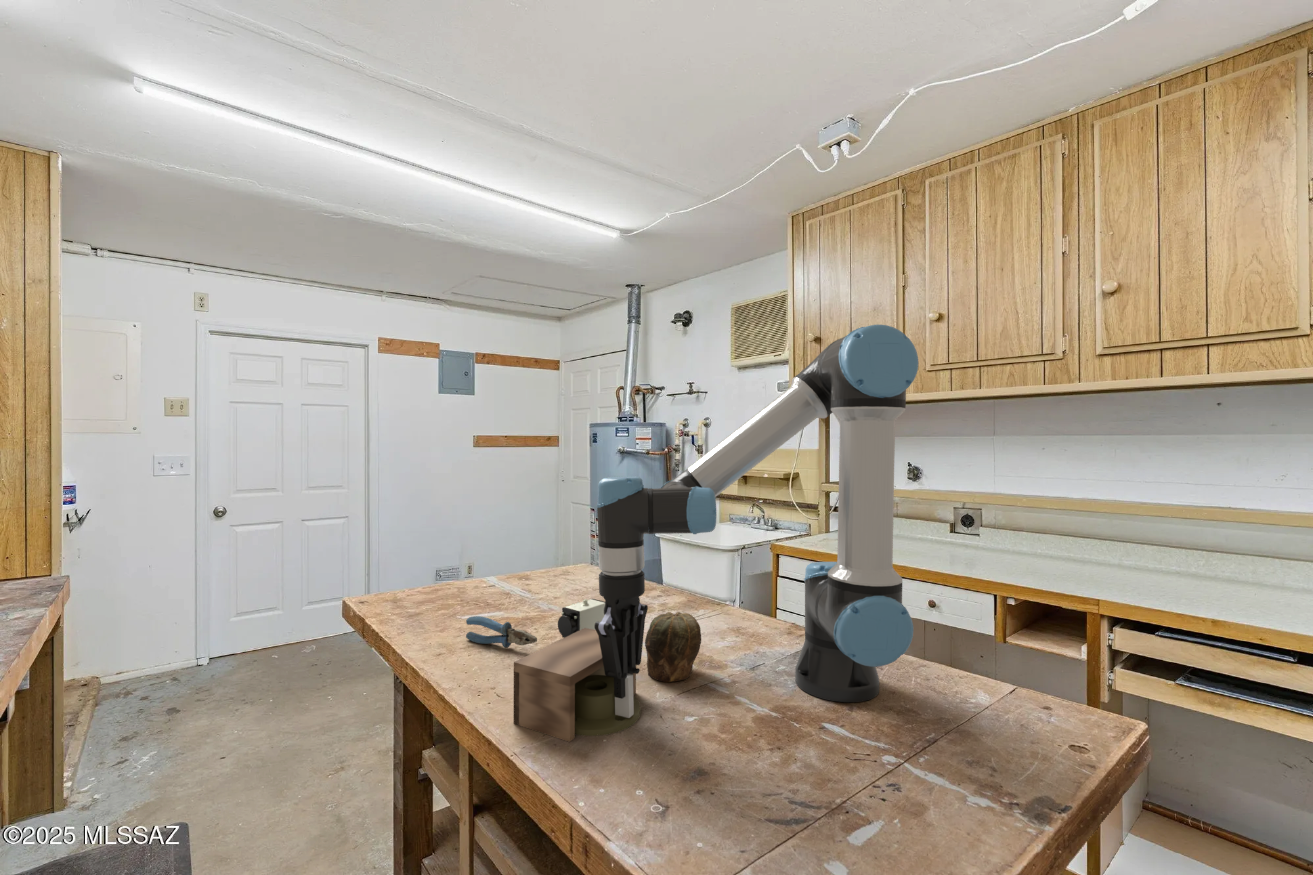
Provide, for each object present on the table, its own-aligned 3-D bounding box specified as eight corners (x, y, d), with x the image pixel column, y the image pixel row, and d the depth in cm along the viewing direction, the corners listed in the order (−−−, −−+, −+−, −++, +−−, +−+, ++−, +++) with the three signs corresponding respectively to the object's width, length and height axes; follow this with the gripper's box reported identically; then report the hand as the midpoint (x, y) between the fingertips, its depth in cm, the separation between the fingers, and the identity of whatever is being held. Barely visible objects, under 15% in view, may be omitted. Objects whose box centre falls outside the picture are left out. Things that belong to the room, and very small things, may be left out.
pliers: (538, 654, 124) (538, 626, 124) (532, 657, 123) (532, 629, 122) (471, 638, 134) (471, 612, 134) (464, 640, 132) (464, 615, 132)
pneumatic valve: (612, 650, 126) (612, 595, 126) (572, 667, 117) (572, 608, 117) (594, 644, 130) (594, 591, 130) (554, 660, 121) (554, 603, 121)
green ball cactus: (697, 688, 108) (697, 624, 108) (639, 683, 110) (640, 620, 110) (704, 665, 118) (704, 607, 118) (651, 661, 120) (651, 603, 120)
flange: (532, 687, 97) (594, 715, 88) (597, 660, 109) (658, 683, 99) (532, 715, 97) (594, 746, 88) (597, 685, 109) (658, 710, 99)
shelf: (635, 693, 106) (636, 638, 106) (569, 741, 89) (570, 676, 89) (584, 679, 111) (584, 627, 111) (513, 723, 94) (513, 662, 94)
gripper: (623, 561, 103) (626, 694, 103) (579, 576, 92) (582, 726, 91) (660, 564, 99) (663, 703, 99) (619, 581, 88) (622, 737, 88)
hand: (624, 714), depth 95 cm, fingers closed
